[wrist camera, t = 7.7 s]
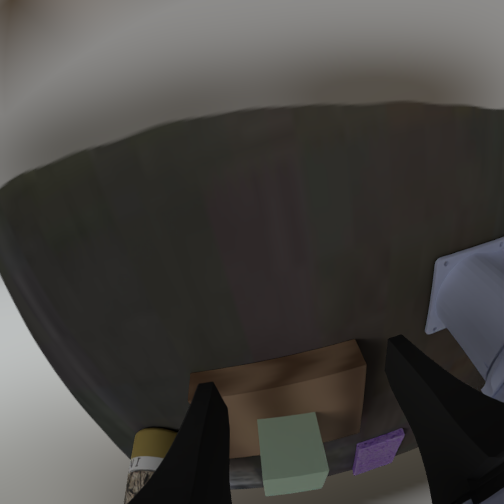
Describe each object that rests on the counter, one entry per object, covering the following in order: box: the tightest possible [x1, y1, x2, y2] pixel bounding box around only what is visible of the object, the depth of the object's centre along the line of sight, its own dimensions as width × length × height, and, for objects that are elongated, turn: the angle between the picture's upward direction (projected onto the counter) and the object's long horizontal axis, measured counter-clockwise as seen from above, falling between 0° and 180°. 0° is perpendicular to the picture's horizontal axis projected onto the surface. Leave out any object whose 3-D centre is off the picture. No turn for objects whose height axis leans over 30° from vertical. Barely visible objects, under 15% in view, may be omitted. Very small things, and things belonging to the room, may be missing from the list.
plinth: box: [188, 339, 367, 459], centre depth 25 cm, size 14×12×3 cm
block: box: [257, 412, 329, 496], centre depth 21 cm, size 5×5×6 cm
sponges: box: [353, 428, 405, 476], centre depth 36 cm, size 7×13×2 cm, turn 13°
